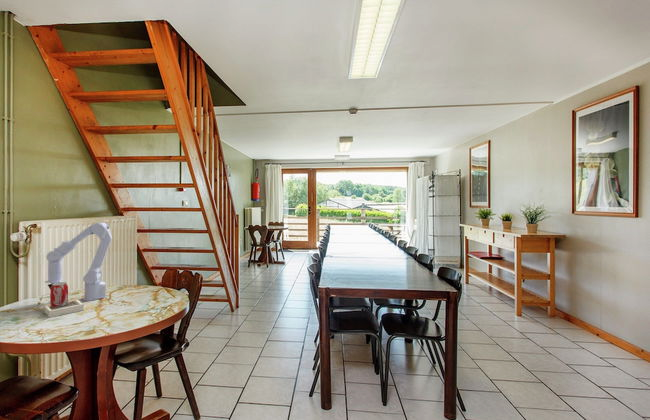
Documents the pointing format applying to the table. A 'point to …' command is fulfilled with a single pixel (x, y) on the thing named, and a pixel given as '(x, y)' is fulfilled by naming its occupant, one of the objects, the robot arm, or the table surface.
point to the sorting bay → (64, 309)
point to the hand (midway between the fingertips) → (54, 296)
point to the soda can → (59, 295)
